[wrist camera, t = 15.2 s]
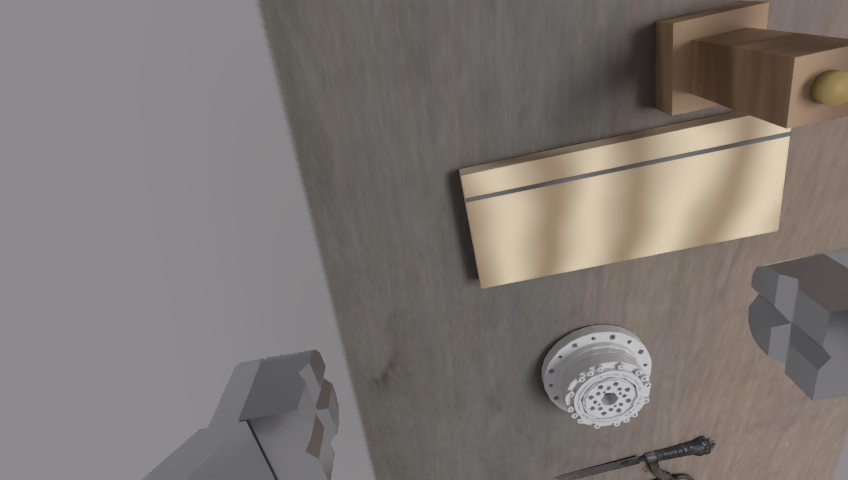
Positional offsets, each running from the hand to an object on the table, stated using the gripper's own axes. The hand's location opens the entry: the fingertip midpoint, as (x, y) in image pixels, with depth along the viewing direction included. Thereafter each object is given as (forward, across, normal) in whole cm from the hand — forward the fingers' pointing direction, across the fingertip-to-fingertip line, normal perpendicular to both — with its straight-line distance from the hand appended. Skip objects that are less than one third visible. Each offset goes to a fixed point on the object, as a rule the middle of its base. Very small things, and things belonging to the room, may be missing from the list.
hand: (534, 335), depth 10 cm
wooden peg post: (+29, -18, +2) cm, 34 cm away
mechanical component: (+30, -10, +29) cm, 42 cm away
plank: (+29, -12, +12) cm, 34 cm away
